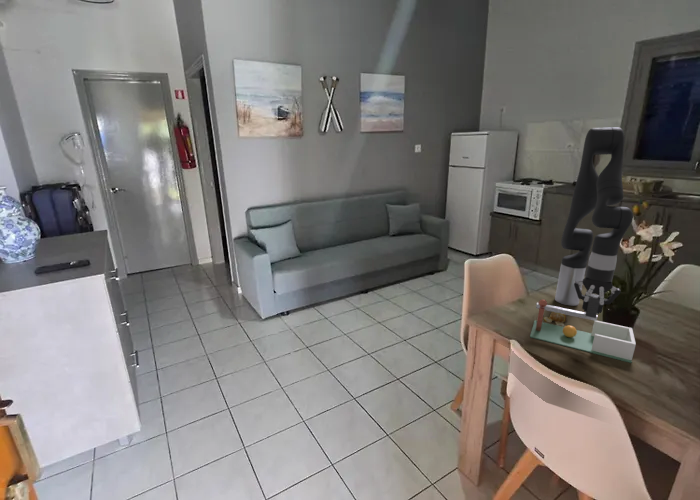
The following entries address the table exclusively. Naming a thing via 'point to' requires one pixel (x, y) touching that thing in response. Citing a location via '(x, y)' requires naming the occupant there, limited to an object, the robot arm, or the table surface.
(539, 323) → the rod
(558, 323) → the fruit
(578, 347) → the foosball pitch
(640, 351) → the table surface
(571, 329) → the ball
